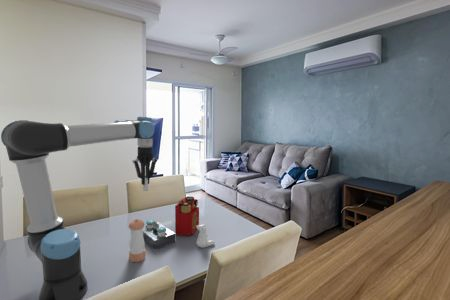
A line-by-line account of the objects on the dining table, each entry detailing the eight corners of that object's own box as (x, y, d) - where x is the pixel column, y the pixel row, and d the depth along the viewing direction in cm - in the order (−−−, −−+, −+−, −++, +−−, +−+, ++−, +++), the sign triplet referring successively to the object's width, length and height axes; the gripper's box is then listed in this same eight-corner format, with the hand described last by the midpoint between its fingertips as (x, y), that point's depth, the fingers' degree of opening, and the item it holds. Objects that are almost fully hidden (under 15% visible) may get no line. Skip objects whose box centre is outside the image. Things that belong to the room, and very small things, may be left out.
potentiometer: (152, 231, 131) (152, 223, 131) (153, 228, 134) (153, 220, 134) (158, 231, 132) (158, 222, 131) (159, 228, 135) (159, 220, 134)
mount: (154, 249, 123) (154, 240, 122) (137, 235, 137) (137, 227, 136) (175, 242, 131) (175, 233, 130) (157, 229, 145) (157, 221, 145)
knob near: (159, 244, 126) (159, 231, 125) (155, 240, 130) (155, 228, 129) (167, 241, 129) (167, 228, 128) (163, 238, 133) (163, 225, 132)
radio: (191, 237, 136) (191, 203, 134) (174, 235, 138) (174, 201, 136) (199, 225, 152) (200, 194, 149) (184, 223, 153) (184, 193, 151)
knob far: (149, 236, 135) (148, 224, 134) (145, 232, 138) (144, 221, 137) (156, 233, 138) (156, 221, 137) (152, 230, 141) (152, 219, 140)
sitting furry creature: (215, 244, 130) (215, 223, 128) (205, 251, 122) (205, 229, 121) (201, 239, 135) (201, 218, 133) (191, 245, 128) (191, 224, 126)
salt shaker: (128, 263, 111) (127, 223, 109) (130, 254, 118) (129, 217, 116) (145, 260, 113) (144, 221, 111) (145, 252, 120) (145, 215, 118)
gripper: (135, 147, 119) (136, 194, 122) (160, 146, 128) (160, 189, 131) (129, 146, 125) (130, 190, 128) (153, 145, 134) (153, 186, 136)
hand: (145, 190), depth 129 cm, fingers closed
